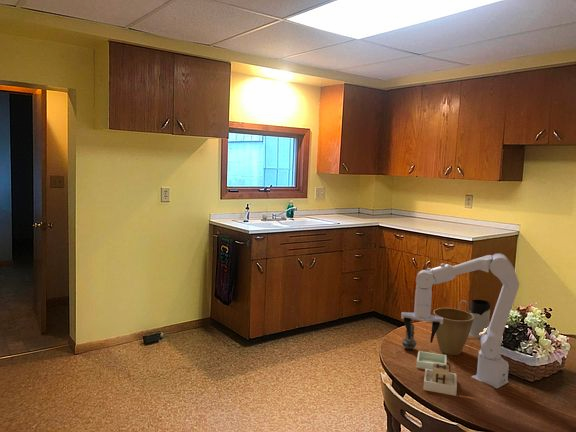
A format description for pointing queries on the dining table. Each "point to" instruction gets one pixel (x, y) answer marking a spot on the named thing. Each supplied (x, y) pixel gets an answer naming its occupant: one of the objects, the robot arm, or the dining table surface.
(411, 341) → the salt shaker
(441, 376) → the letter block
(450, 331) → the plant pot
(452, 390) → the white tray
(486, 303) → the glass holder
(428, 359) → the sage tray
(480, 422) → the dining table surface
